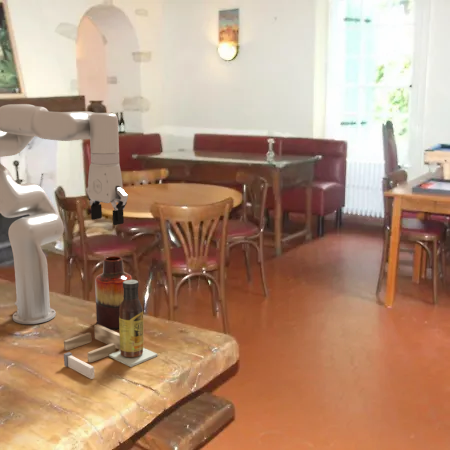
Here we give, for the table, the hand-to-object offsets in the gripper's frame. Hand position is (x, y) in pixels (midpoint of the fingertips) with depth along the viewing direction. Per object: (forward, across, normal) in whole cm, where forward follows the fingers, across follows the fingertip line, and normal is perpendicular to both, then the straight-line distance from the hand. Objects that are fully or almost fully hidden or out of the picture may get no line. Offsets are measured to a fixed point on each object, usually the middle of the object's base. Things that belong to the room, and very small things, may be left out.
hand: (107, 221), depth 165 cm
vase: (+34, -6, +6) cm, 35 cm away
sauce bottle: (+33, +16, -5) cm, 37 cm away
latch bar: (+33, +14, -20) cm, 41 cm away
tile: (+33, +16, -5) cm, 37 cm away
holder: (+33, +5, -10) cm, 35 cm away
